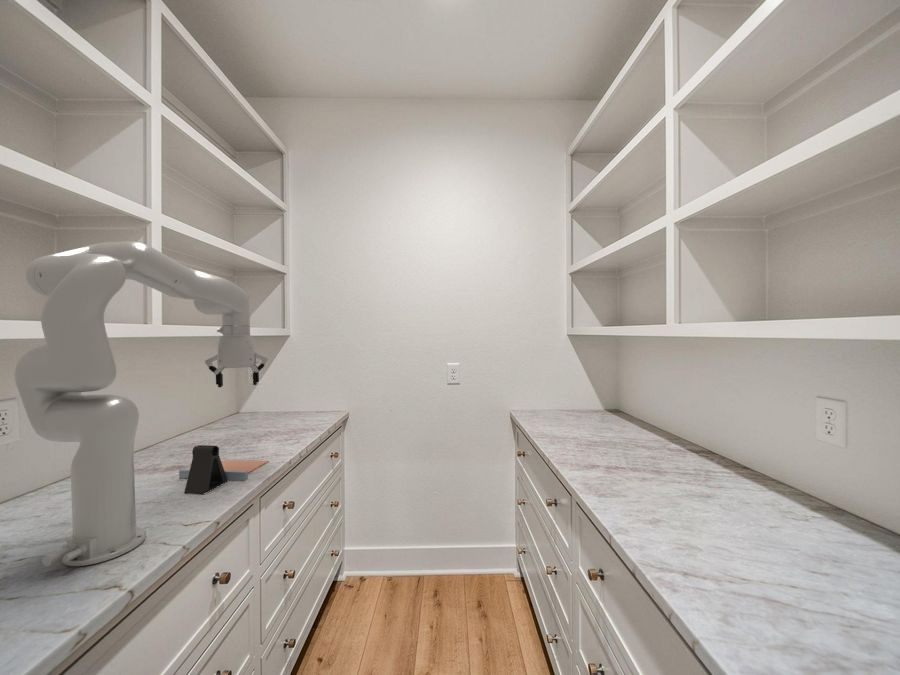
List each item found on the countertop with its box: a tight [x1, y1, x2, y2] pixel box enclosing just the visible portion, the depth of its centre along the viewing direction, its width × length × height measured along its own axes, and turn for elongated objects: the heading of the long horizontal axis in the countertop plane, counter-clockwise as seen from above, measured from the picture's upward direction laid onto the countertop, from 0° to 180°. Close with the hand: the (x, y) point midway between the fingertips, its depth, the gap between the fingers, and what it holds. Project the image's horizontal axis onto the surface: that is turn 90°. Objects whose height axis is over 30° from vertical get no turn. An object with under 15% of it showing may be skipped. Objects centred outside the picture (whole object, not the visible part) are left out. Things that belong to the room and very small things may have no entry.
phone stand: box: [183, 444, 229, 495], centre depth 107 cm, size 9×6×12 cm, turn 171°
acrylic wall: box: [178, 468, 249, 482], centre depth 113 cm, size 1×22×2 cm, turn 82°
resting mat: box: [221, 459, 270, 474], centre depth 122 cm, size 13×16×1 cm
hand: (238, 385), depth 117 cm, fingers open, 9 cm apart
